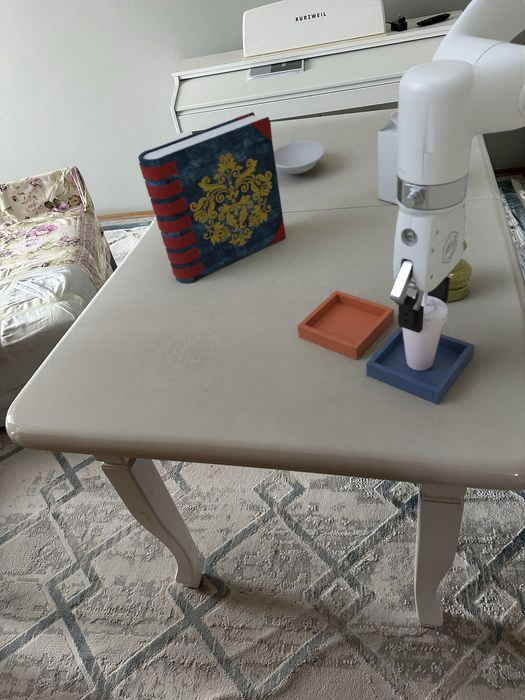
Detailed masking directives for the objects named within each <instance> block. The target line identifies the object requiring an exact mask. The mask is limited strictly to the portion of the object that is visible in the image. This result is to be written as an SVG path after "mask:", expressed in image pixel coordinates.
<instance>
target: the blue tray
mask: <svg viewBox="0 0 525 700" xmlns="http://www.w3.org/2000/svg"><path fill="white" fill-rule="evenodd" d="M474 352H475V344H473V343H470V342H468V341H464V340H461V339H458V338H455V337H452V336H450V335H447V334H446V335H445V334H443V333H441V335H440V338H439V342H438V346H437V350H436V354H435V358H434V361H433V365H432V366H431V367H430V368H429V369H427V370H422V371H419V370H414V369H412V368H410V367H409V366H408V365H407V361H406V353H405V346H404V338H403V330H402V327H400V326H399V327H398V328H397V329H396V330H395V331H394V332H393V333H392V334H391V336H389V338H388V339H387V340H386V341H385V342H384V343H383V344H382V346H381V347H379V349H377V351H376V352H375V353H374V354H373V355H372V356H371V357H370V359H369V360H368V361H367V362H366V364H365V365H366V368H365V369H366V376H367V377H370V378H372V379H375V380H377V381H380V382H382V383H384V384H387V385H390V386H392V387H395V388H397V389H399V390H401V391H404V392H406V393H409V394H411V395H413V396H416V397H418V398H420V399H423V400H425V401H428V402H430V403H433V404H435V405H439V404H440V402H441V401H442V399H443V398H444V397H445V396H446V394H447V393H448V392H449V391H450V389H451V387H452V386H453V385H454V384H455V382H456V381H457V379H459V376H460V375H461V374H462V373H463V371H464V370H465V369H466V367H467V366H468V364H469V363H470V362H471V361H472V360H473V357H474Z"/></svg>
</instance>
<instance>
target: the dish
mask: <svg viewBox="0 0 525 700" xmlns="http://www.w3.org/2000/svg"><path fill="white" fill-rule="evenodd" d="M273 150H274V157H275V164H276V169H278V170H279V171H281V172H282V173H285V174H288V175H299V174H303V173H306V172H308V171H310V170H311V169H313V168H314V167H315V166H316V165H317V164H318V163H319V161H320V160H321V159H322V158H323V156H325V153H326V148H325V145H323V143H321V142H319V141H316V140H309V139H300V140H294V141H290V142H289V141H288V142H287V143H283V144H280V145H279V146H277V147H276V148H273Z"/></svg>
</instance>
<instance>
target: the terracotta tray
mask: <svg viewBox="0 0 525 700" xmlns="http://www.w3.org/2000/svg"><path fill="white" fill-rule="evenodd" d="M394 314H395V309H394V308H392V307H389V306H387V305H383V304H380V303H377V302H374V301H372V300H368V299H365V298H361V297H358V296H356V295H352V294H350V293H346V292H343V291H340V290H338V289H337V290H334V291H333V292H332V293H331V294H330V295H329V296H328V297H327V298H326V299H324V300H323V302H322V303H320V304H319V305H318V306H317V307H316V308H315V309H313V311H311V313H309V314H308V315H307V316H306V317H305V318H304V319H303V320H302V321H300V323H298V324H297V333H298V337H299V338H301V339H303V340H306V341H309V342H311V343H313V344H315V345H319V346H321V347H323V348H325V349H328V350H331V351H333V352H336V353H338V354H341V355H343V356H346V357H348V358H350V359H353V360H356V361H358V359H360V357H361V356H362V355H363V354H365V352H366V351H367V350H368V349H369V348H370V347H371V346H372V344H373V343H374V342H376V340H377V339H379V337H380V336H381V335H382V334H383V333H384V332H385V330H386V329H388V328H389V326H390V325H391V324H392V323H393V322H394V320H395V319H394V318H395V317H394V316H395V315H394Z"/></svg>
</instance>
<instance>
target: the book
mask: <svg viewBox="0 0 525 700" xmlns="http://www.w3.org/2000/svg"><path fill="white" fill-rule="evenodd" d="M271 123H272V122H271V119H270V117H269V116H266V117H263V118H262V117H259V116H257V115H256V114H255V112H253V111H251V112H249V113H246V114H243V115H239V116H237V117H235V118H233V119H230V120H227V121H224V122H222V123H219V124H217V125H213V126H210V127H207V128H205V129H203V130H199V131H198V132H197V131H196V132H195V133H192V134H189V135H186V136H184V137H180V138H177V139H175V140H173V141H170V142H167V143H164V144H161V145H158V146H156V147H153V148H151V149H147V150H144V151H142V152H141V153H140V154H139V155H138V156H137V158H138V161H139V168H140V171H141V174H142V175H141V176H142V177H143V179H144V184H145V188H146V191H147V194H148V197H149V198H150V204H151V206H152V210H153V213H154V215H155V219H156V224H157V227H158V230H159V231H160V234H161V239H162V243H163V246H164V247H165V251H166V254H167V258H168V261H169V262H170V266H171V270H172V275H173V276H174V277H175V279H176V281H177V282H179V283H182V284H193V283H195V282H197V281H198V280H200V279H202V278H205V277H207V276H209V275H211V274H213V273H215V272H217V271H219V270H221V269H223V268H225V267H228V266H229V265H232V264H234V263H236V262H238V261H240V260H242V259H244V258H246V257H249V256H251V255H252V254H255V253H257V252H259V251H261V250H264V249H266V248H268V247H269V246H272V245H274V244H277V243H279V242H281V241H283V240H284V239H286V238H287V237H286V236H287V235H286V229H285V222H284V215H283V208H282V202H281V194H280V186H279V180H278V173H277V167H276V164H275V157H274V143H273V134H272V124H271Z"/></svg>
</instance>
